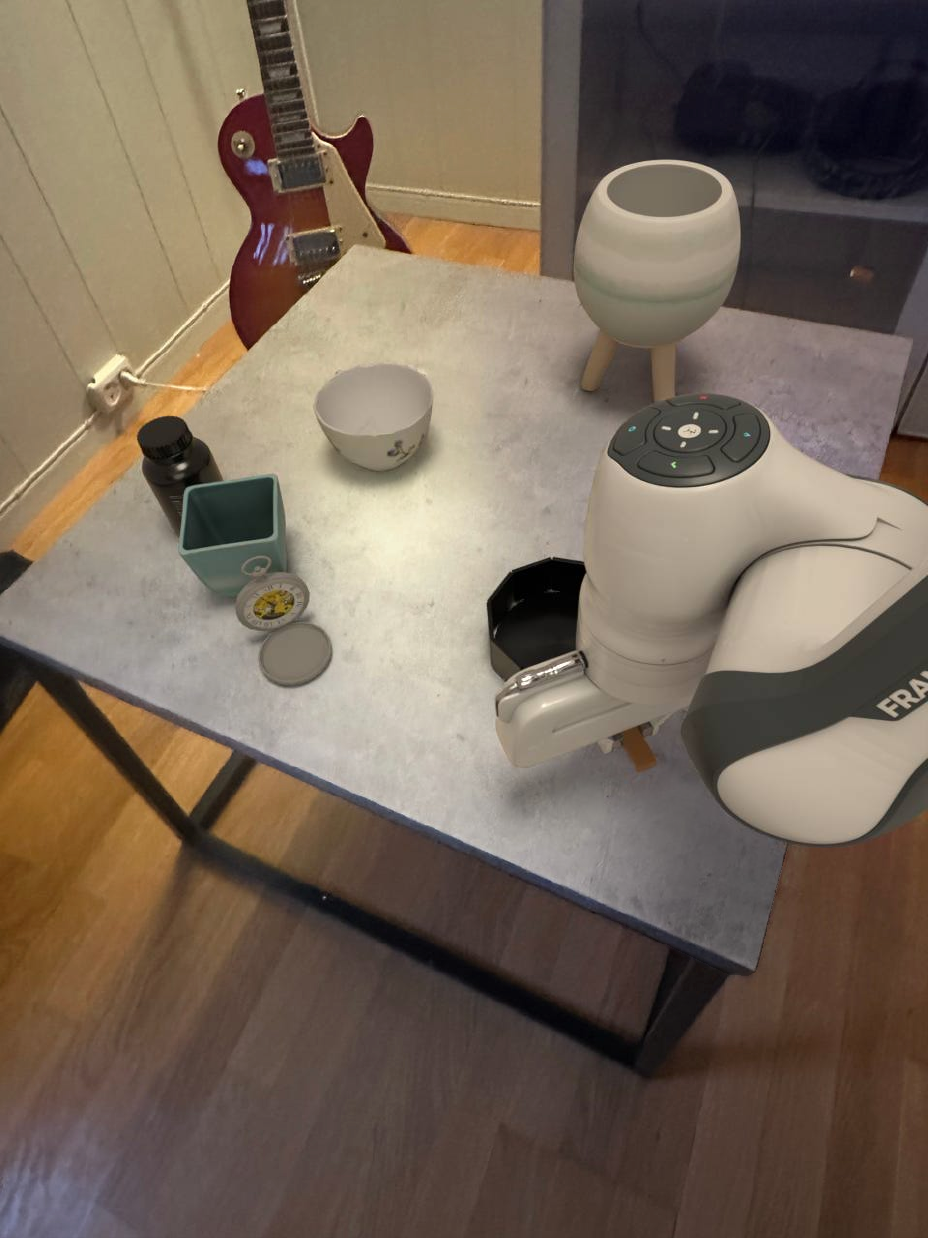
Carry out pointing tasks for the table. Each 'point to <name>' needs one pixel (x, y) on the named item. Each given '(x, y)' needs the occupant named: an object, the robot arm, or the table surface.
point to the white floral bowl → (375, 413)
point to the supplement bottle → (174, 463)
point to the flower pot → (233, 531)
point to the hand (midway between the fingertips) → (626, 735)
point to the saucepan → (544, 628)
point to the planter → (655, 261)
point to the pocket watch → (283, 626)
